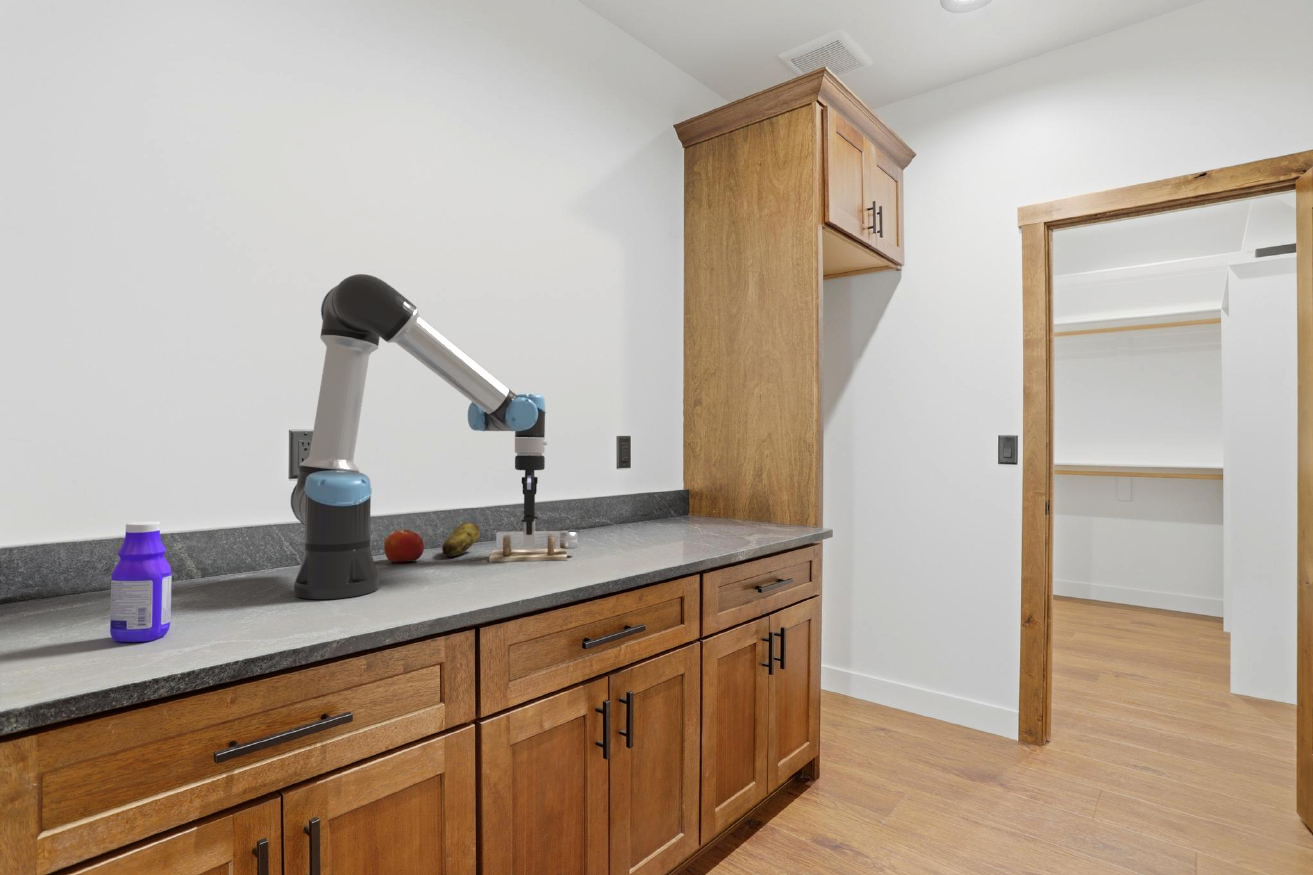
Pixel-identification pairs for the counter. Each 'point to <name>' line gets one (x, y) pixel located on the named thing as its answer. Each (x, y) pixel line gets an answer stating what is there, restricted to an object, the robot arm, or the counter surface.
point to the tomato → (403, 546)
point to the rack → (528, 553)
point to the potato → (461, 539)
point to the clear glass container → (539, 539)
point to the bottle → (141, 586)
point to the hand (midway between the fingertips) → (529, 545)
